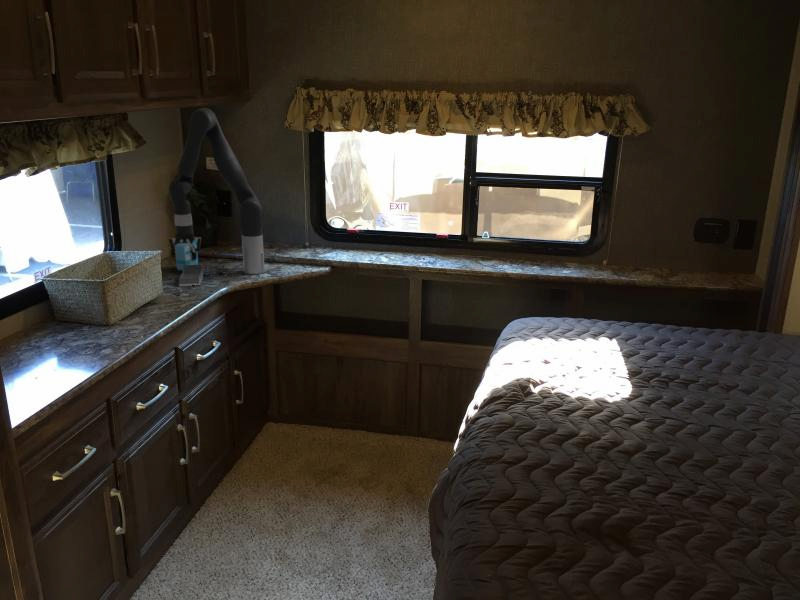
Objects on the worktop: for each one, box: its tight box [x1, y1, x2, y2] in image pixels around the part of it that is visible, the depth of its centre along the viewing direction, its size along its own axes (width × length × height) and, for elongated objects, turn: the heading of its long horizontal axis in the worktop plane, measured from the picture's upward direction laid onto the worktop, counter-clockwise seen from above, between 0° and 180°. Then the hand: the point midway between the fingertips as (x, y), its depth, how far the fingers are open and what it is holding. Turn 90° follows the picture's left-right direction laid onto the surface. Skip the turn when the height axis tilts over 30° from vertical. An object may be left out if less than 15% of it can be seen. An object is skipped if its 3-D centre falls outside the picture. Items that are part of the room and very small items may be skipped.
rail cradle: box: [178, 264, 204, 287], centre depth 293 cm, size 8×16×5 cm, turn 10°
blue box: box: [174, 239, 199, 272], centre depth 307 cm, size 12×4×12 cm, turn 169°
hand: (187, 260), depth 308 cm, fingers closed on blue box, 5 cm apart
